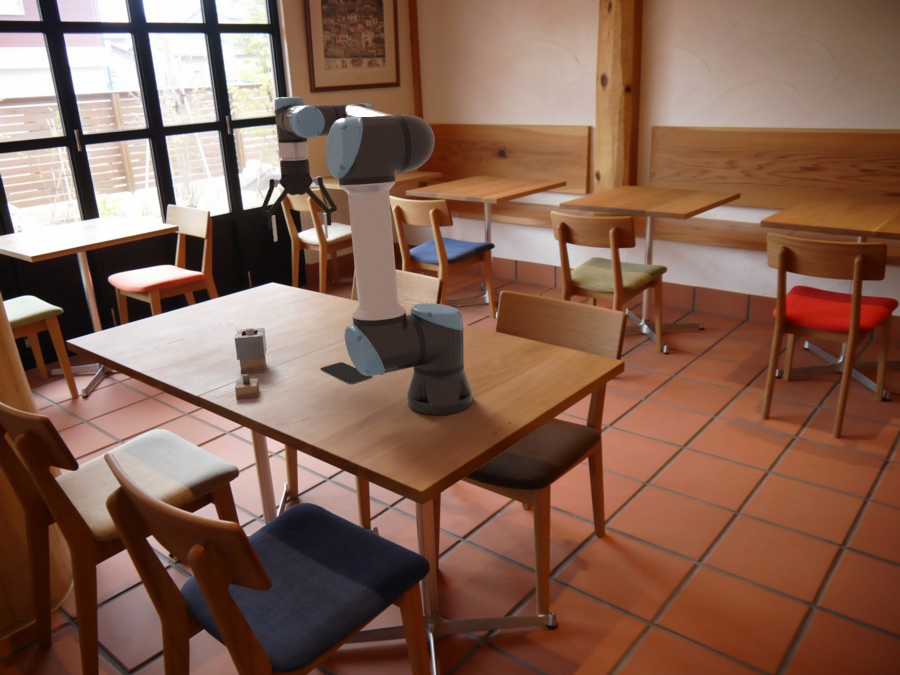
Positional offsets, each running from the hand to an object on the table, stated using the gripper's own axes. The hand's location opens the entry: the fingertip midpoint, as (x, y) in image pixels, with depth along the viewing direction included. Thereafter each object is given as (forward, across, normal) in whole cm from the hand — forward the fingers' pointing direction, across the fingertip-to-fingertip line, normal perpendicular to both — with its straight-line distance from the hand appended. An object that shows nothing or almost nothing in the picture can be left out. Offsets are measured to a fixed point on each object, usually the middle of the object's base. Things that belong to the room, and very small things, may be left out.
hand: (301, 239), depth 201 cm
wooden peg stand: (+32, +15, +12) cm, 37 cm away
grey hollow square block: (+28, +15, +12) cm, 34 cm away
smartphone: (+32, -9, +21) cm, 40 cm away
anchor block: (+32, +15, +30) cm, 46 cm away
